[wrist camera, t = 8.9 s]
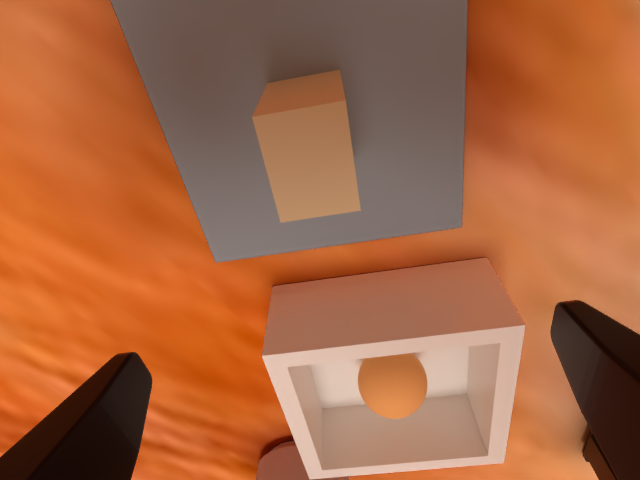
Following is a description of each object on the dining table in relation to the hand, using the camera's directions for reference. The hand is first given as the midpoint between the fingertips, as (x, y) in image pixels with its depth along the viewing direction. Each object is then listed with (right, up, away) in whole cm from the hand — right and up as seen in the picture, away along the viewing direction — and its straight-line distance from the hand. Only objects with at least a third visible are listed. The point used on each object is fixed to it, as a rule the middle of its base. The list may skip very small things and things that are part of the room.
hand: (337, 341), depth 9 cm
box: (+4, -5, +17) cm, 18 cm away
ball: (+4, -6, +15) cm, 17 cm away
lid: (-1, +8, +10) cm, 12 cm away
